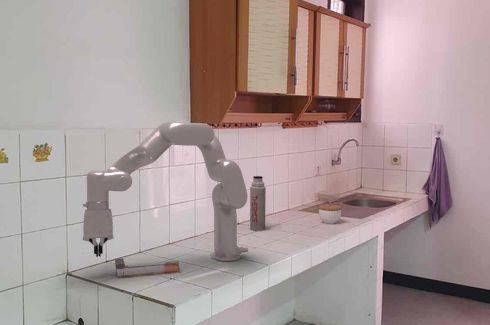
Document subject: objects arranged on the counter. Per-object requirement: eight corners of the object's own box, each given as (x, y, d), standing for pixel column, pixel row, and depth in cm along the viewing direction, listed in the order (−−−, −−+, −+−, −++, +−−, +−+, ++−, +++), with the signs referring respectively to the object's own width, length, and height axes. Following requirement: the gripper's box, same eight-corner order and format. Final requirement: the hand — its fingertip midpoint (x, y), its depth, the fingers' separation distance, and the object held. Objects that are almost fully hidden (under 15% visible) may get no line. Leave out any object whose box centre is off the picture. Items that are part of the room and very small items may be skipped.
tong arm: (178, 266, 193) (177, 260, 193) (179, 268, 190) (179, 262, 190) (127, 270, 188) (127, 264, 188) (128, 272, 185) (128, 267, 185)
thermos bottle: (257, 231, 256) (258, 177, 253) (246, 229, 262) (247, 176, 259) (268, 229, 262) (268, 176, 259) (257, 226, 267) (257, 175, 265)
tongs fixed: (174, 266, 194) (174, 258, 194) (178, 271, 187) (178, 263, 187) (116, 271, 187) (116, 263, 187) (117, 277, 181) (117, 269, 180)
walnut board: (174, 264, 200) (174, 261, 200) (181, 275, 186) (181, 272, 186) (115, 269, 193) (115, 266, 193) (118, 281, 179) (117, 278, 179)
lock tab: (123, 262, 188) (123, 258, 187) (124, 268, 181) (124, 263, 180) (114, 263, 187) (114, 258, 186) (116, 268, 180) (116, 264, 179)
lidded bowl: (314, 221, 282) (314, 202, 281) (332, 219, 287) (332, 200, 286) (326, 225, 271) (327, 205, 270) (345, 223, 276) (346, 204, 275)
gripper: (75, 208, 173) (76, 260, 175) (120, 206, 178) (120, 257, 180) (76, 204, 181) (76, 254, 182) (118, 203, 185) (118, 251, 187)
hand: (98, 255), depth 181 cm, fingers closed
